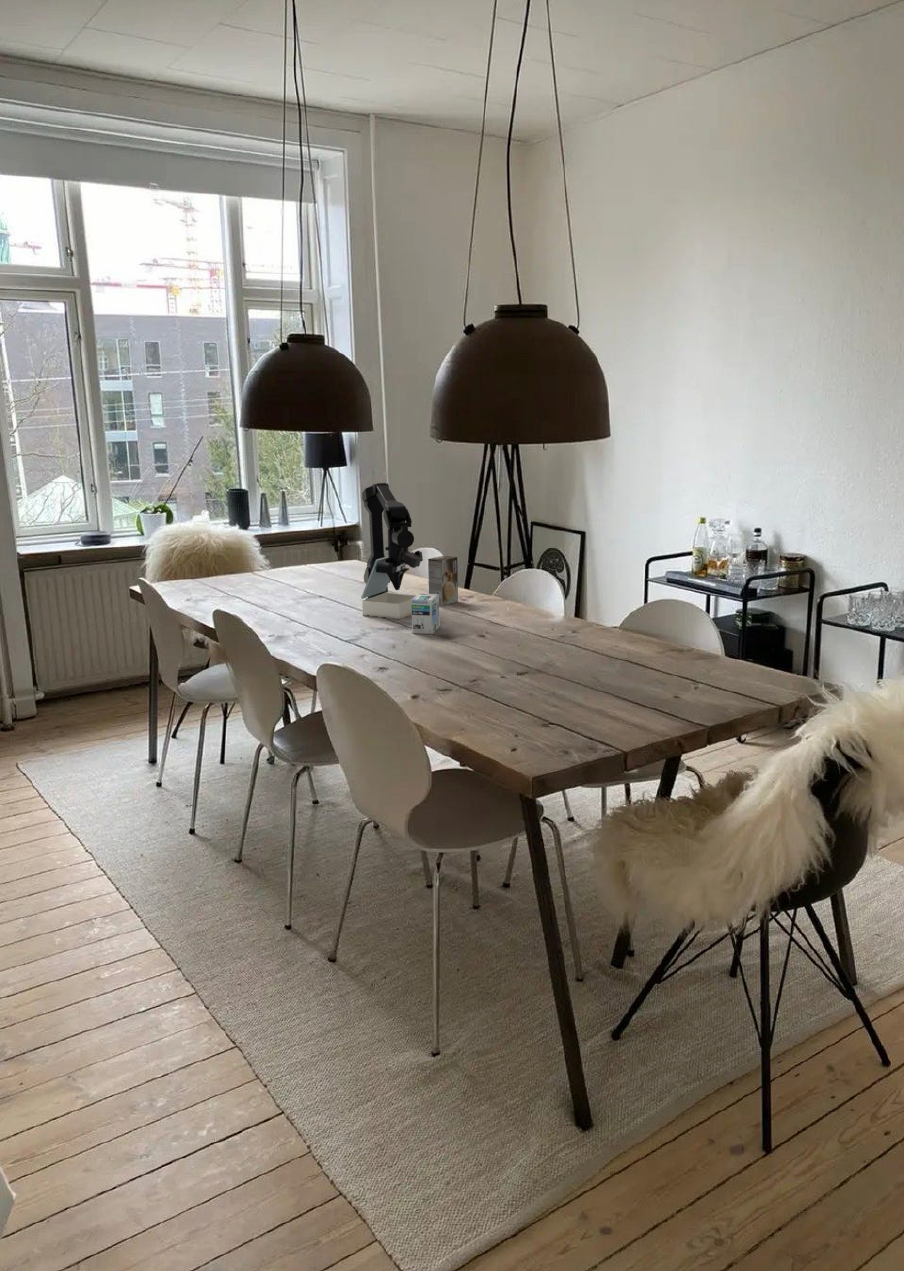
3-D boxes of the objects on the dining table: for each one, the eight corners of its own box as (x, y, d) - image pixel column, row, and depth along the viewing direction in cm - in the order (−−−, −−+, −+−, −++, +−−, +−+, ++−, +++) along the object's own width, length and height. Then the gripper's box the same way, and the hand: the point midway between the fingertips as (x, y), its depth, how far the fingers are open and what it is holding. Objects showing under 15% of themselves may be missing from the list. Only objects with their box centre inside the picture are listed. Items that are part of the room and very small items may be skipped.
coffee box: (444, 599, 353) (443, 555, 349) (458, 601, 349) (458, 556, 345) (428, 603, 346) (427, 558, 342) (442, 606, 342) (442, 560, 338)
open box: (362, 615, 327) (362, 600, 326) (386, 606, 341) (386, 592, 340) (399, 619, 321) (399, 604, 320) (422, 609, 335) (422, 595, 334)
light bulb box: (432, 634, 301) (432, 600, 298) (411, 633, 302) (410, 599, 299) (440, 626, 311) (439, 593, 308) (419, 626, 312) (418, 592, 310)
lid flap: (362, 598, 327) (360, 597, 327) (385, 590, 340) (383, 590, 340) (377, 560, 321) (376, 559, 321) (400, 554, 334) (398, 553, 334)
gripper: (404, 549, 314) (405, 597, 317) (431, 541, 330) (431, 587, 334) (374, 547, 318) (375, 594, 322) (401, 539, 335) (402, 584, 338)
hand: (397, 590), depth 329 cm, fingers closed
